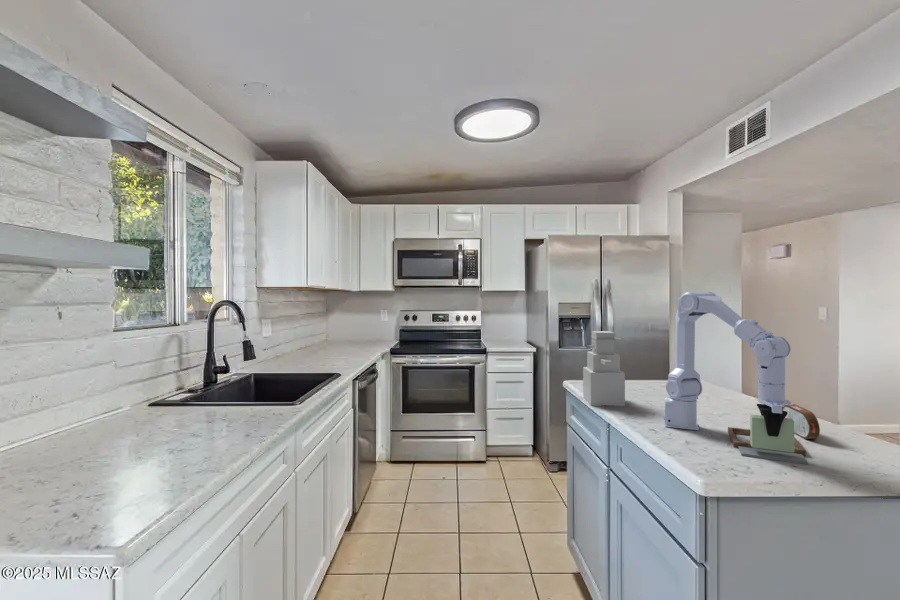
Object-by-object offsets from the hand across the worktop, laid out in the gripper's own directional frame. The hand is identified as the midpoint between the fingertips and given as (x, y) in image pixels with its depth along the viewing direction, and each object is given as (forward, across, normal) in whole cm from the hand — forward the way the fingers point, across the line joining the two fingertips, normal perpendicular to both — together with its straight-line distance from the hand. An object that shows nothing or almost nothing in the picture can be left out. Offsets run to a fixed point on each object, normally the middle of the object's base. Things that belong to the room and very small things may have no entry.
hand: (771, 433), depth 115 cm
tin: (+6, +24, -11) cm, 28 cm away
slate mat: (+6, 0, 0) cm, 6 cm away
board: (+4, 0, 0) cm, 4 cm away
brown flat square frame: (+6, +11, 0) cm, 12 cm away
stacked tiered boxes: (+6, +42, +48) cm, 64 cm away
